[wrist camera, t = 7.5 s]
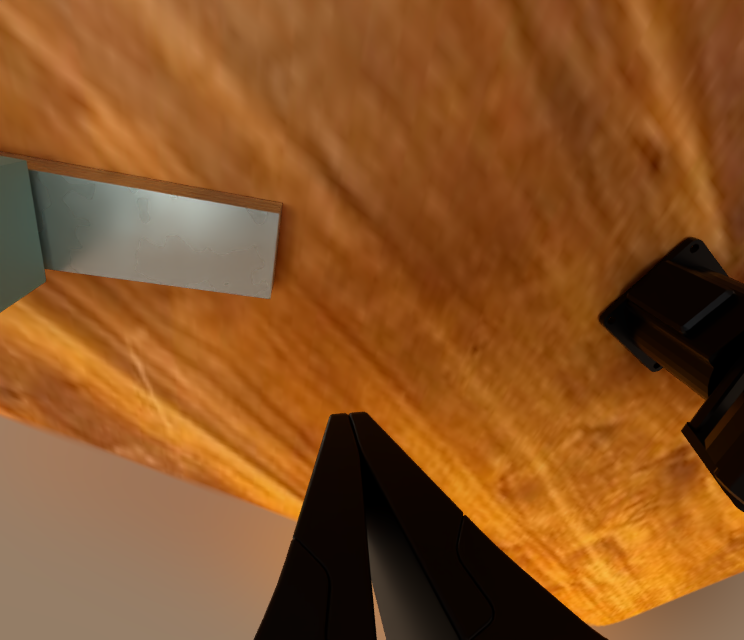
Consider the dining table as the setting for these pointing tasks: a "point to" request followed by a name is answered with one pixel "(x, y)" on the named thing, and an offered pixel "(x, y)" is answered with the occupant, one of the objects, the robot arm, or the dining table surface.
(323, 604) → the robot arm
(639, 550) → the dining table surface
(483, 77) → the dining table surface
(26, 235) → the tall teal pillar
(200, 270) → the rail
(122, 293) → the dining table surface
